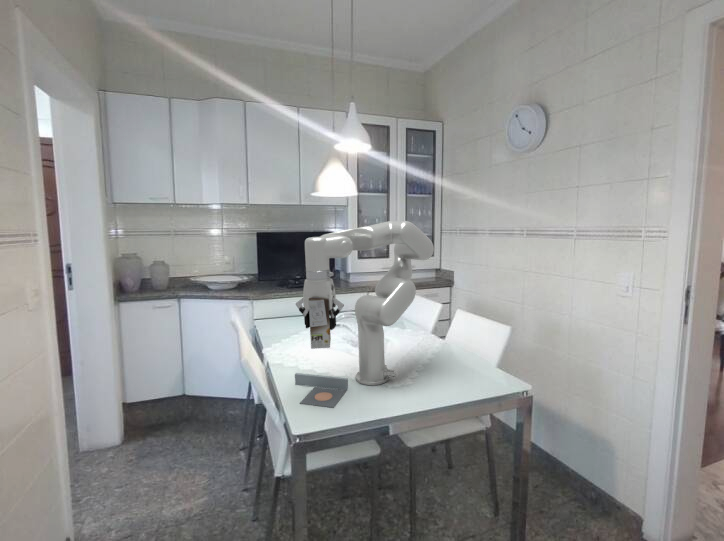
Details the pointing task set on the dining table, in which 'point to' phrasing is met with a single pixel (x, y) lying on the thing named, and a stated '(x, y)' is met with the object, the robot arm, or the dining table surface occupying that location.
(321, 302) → the coffee box
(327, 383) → the grey flat bar
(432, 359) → the dining table surface
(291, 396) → the dining table surface
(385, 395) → the dining table surface
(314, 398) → the resting mat
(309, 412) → the dining table surface
